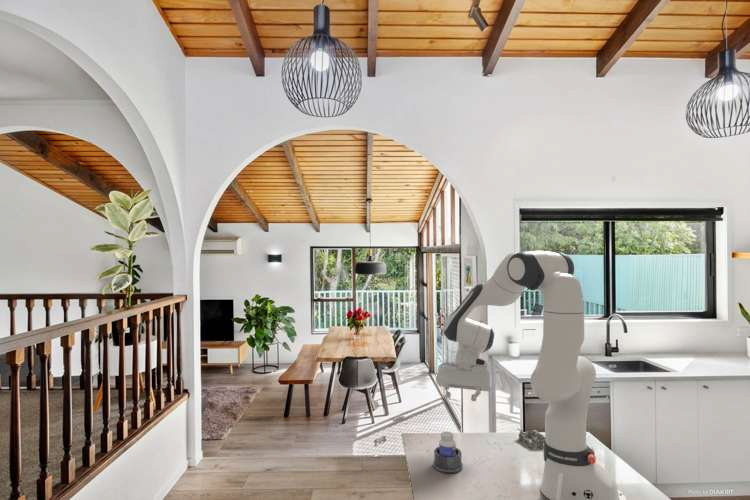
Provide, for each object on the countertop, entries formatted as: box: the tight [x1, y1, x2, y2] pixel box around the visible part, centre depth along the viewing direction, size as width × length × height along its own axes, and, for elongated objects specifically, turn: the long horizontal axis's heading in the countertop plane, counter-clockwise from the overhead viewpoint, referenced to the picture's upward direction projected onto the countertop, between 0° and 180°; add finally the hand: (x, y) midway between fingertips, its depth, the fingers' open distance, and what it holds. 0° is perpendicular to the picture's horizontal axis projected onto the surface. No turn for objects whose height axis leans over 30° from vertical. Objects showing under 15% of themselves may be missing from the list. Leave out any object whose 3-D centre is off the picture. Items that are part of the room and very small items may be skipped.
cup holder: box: [432, 446, 464, 475], centre depth 144 cm, size 10×10×5 cm
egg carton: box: [517, 428, 545, 450], centre depth 162 cm, size 11×8×4 cm
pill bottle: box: [438, 431, 457, 456], centre depth 145 cm, size 5×5×10 cm
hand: (460, 398), depth 155 cm, fingers open, 8 cm apart
